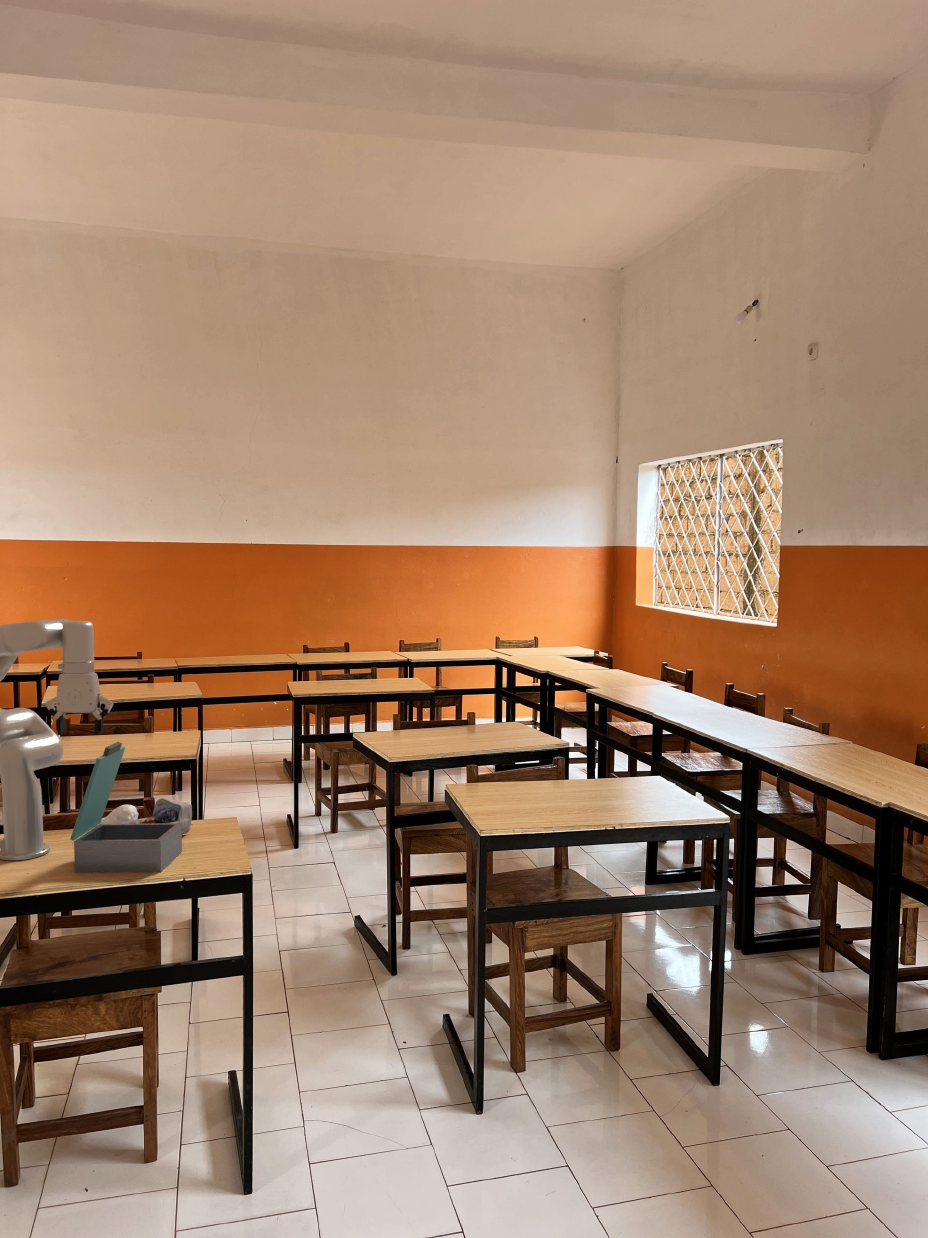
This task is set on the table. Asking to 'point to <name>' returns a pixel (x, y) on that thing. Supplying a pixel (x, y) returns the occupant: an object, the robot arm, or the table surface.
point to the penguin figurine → (121, 815)
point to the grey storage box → (128, 848)
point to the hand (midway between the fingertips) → (80, 734)
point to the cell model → (169, 814)
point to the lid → (98, 790)
